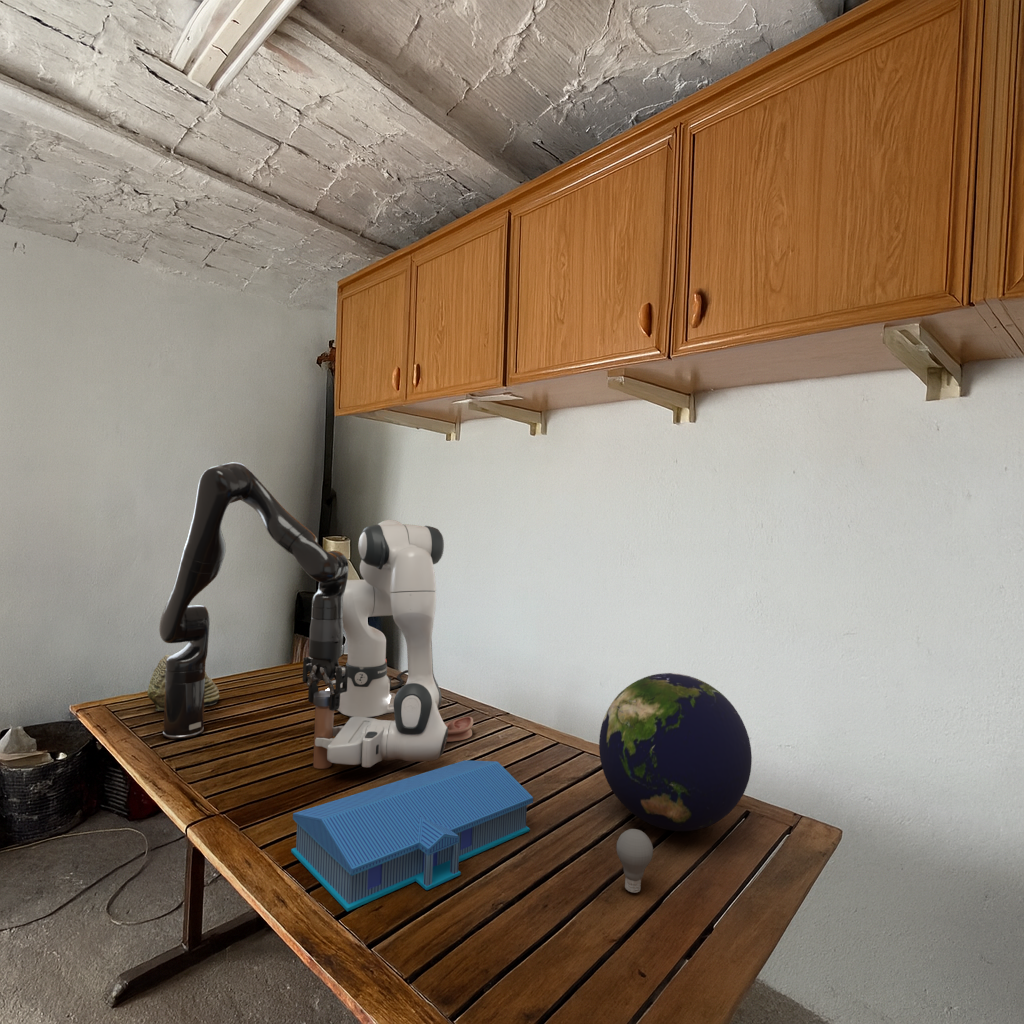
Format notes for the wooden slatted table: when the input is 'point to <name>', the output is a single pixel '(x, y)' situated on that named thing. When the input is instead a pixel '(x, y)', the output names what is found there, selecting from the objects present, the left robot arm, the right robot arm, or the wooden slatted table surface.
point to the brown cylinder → (322, 735)
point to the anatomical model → (459, 729)
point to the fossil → (158, 687)
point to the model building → (409, 830)
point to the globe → (675, 752)
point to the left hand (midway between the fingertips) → (323, 705)
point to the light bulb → (634, 857)
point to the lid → (322, 698)
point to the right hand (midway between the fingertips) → (319, 736)
